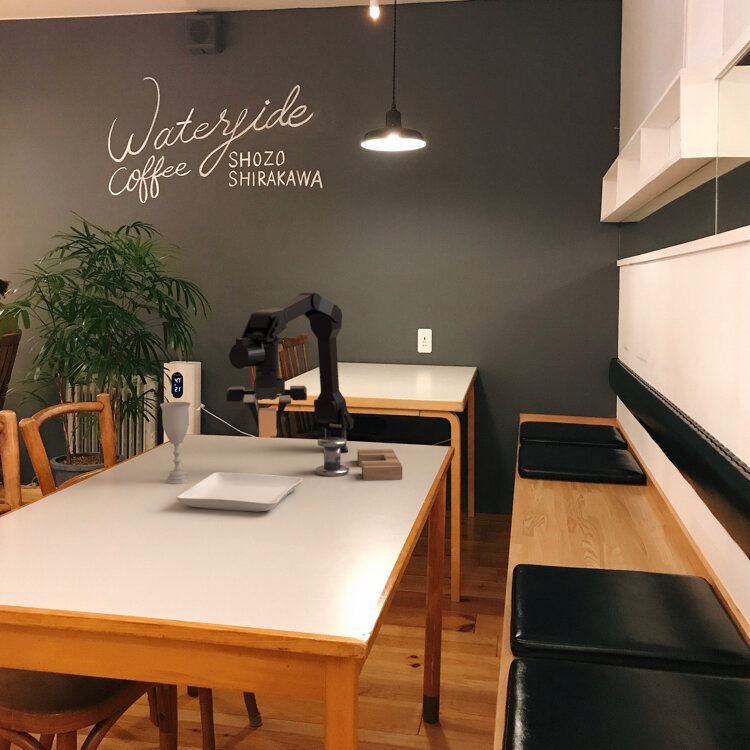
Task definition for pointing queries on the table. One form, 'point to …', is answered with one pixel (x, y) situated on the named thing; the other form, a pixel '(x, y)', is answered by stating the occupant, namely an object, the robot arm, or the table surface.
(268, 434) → the wooden block
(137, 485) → the table surface
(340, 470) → the bobbin
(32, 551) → the table surface
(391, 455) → the notched board
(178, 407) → the chalice
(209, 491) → the salad plate
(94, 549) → the table surface
